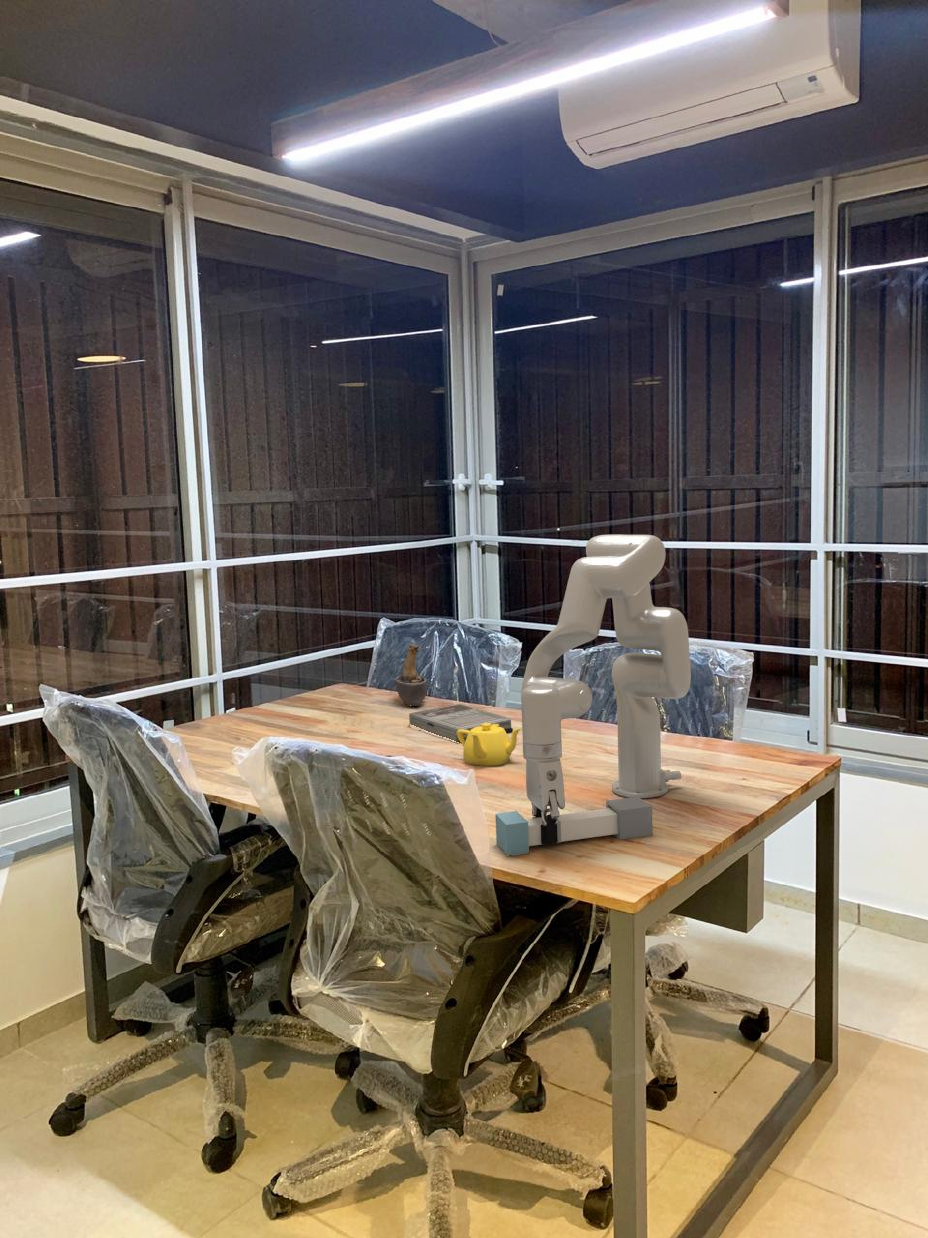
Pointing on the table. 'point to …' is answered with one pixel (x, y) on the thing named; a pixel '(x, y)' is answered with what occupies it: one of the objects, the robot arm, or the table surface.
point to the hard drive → (456, 720)
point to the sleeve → (632, 817)
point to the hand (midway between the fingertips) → (545, 839)
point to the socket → (512, 833)
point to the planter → (411, 680)
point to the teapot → (487, 744)
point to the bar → (577, 825)
